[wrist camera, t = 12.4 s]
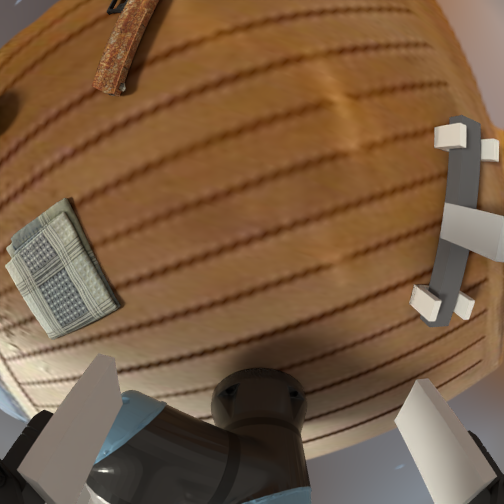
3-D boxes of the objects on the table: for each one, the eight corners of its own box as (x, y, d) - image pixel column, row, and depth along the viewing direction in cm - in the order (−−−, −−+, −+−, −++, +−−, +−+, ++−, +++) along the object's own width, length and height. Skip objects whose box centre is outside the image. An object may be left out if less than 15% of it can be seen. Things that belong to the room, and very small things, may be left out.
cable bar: (438, 317, 38) (481, 356, 26) (419, 318, 37) (462, 359, 26) (468, 125, 30) (524, 118, 18) (449, 117, 30) (506, 106, 18)
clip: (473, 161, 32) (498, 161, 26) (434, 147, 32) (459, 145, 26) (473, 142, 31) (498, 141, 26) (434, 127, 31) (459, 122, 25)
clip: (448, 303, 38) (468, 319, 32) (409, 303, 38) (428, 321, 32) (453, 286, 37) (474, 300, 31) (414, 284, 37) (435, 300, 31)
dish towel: (125, 305, 39) (117, 315, 35) (56, 336, 40) (47, 345, 37) (68, 191, 34) (56, 193, 31) (8, 244, 36) (-4, 249, 33)
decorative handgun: (40, 92, 28) (119, 92, 28) (109, -48, 20) (190, -59, 21) (53, 96, 31) (130, 98, 31) (116, -40, 24) (195, -48, 24)
